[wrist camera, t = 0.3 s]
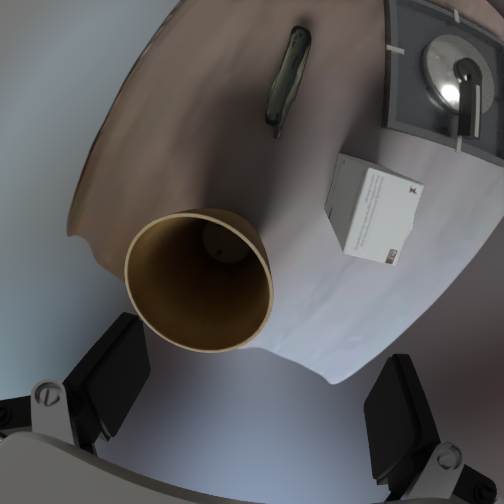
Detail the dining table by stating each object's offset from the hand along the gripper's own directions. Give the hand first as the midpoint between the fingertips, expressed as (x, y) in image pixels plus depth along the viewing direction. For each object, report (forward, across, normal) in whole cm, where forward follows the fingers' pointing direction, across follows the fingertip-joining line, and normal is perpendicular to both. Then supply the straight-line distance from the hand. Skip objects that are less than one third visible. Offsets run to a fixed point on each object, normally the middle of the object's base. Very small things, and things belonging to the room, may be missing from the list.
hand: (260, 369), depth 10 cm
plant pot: (+30, +7, +6) cm, 32 cm away
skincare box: (+30, -9, -3) cm, 32 cm away
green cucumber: (+31, +1, -16) cm, 34 cm away
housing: (+30, -22, -23) cm, 44 cm away
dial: (+29, -22, -21) cm, 42 cm away
